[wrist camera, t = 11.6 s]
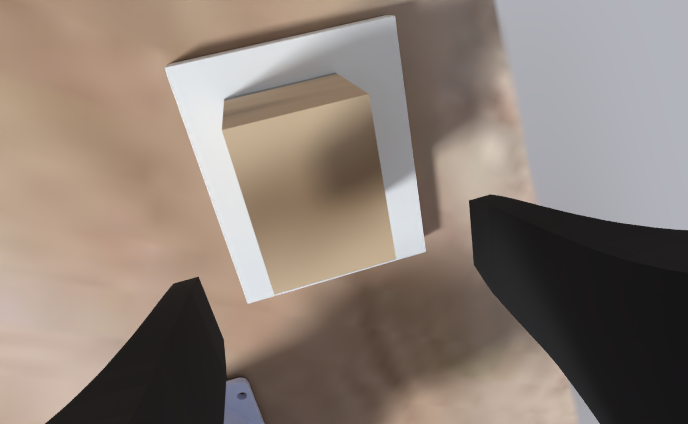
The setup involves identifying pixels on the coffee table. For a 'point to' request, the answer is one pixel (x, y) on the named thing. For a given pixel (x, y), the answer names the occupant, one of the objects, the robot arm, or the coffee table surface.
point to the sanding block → (310, 179)
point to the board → (288, 67)
